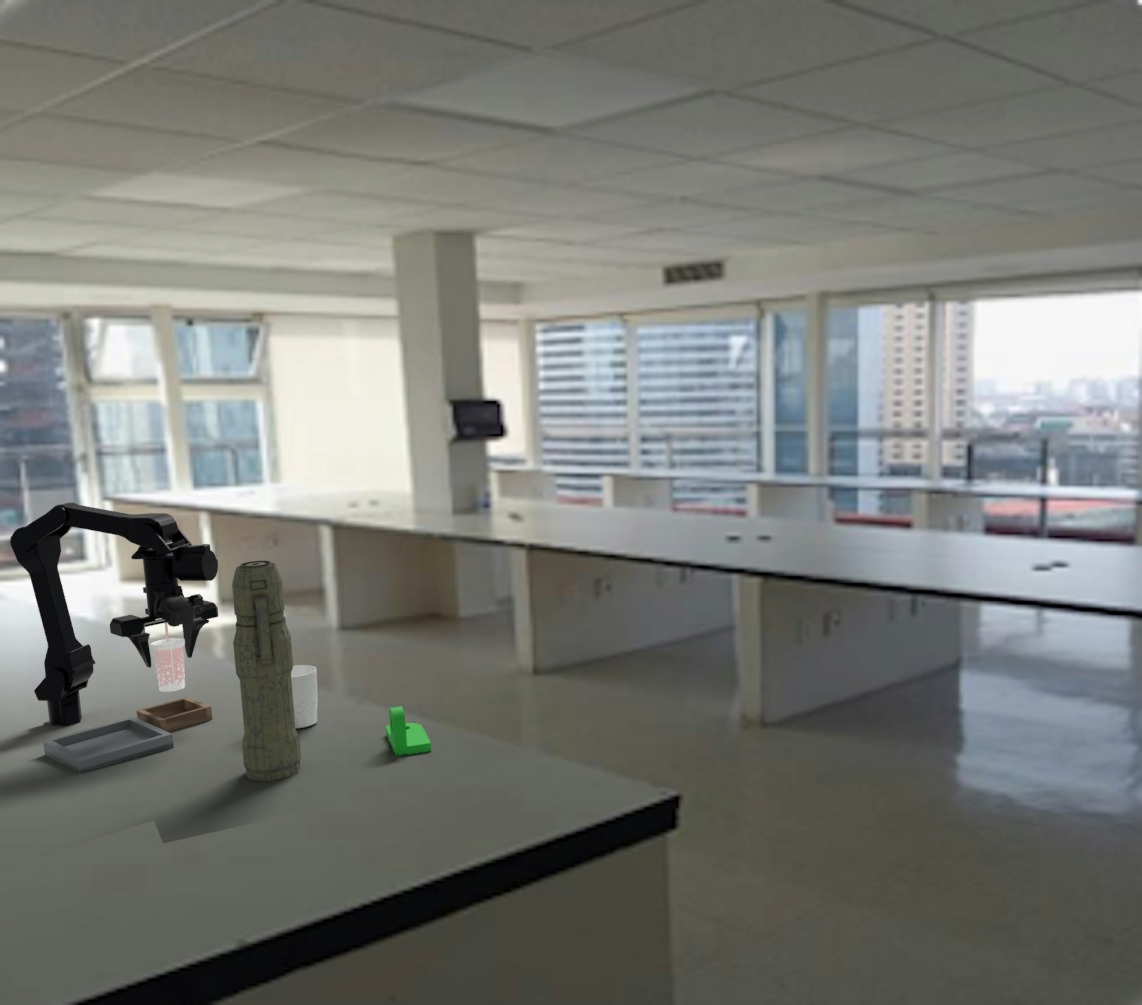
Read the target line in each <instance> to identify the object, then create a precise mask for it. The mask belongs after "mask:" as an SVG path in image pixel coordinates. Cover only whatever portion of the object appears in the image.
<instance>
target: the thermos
mask: <svg viewBox="0 0 1142 1005" xmlns="http://www.w3.org/2000/svg"><path fill="white" fill-rule="evenodd" d="M283 585H284V584H283V578H282V575H281V573H280V571H279V568H278V566H277V563H275V562H272V561H270V560H252V561H246V562H241V563H240V565H238V566H236V567H235V570H234V574H233V578H232V584H231V588H232V596H233V599H232V600H233V610H234V611H233V612H234V615H235V617H236V618H235V619H236V623H235V633H234V638H233V641H232V643H233V653H234V654H233V655H234V656H233V657H234V665H235V667H234V668H235V674H236V676H237V677H238V679H239V686H240V695H241V696H240V699H241V707H242V709H241V710H242V720H243V731H244V734H243V737H242V746H241V748H242V750H241V751H242V759H243V766H244V768H245V775H246V778H247V779H250V780H251V781H259V782H262V781H263V782H265V781H268V782H269V781H275V780H276V781H277V780H281V779H285V778H288V777H291V776H293V775H295V774H298V773H299V771H301V769H302V765H301V759H302V748H301V747H302V746H301V738H300V735H299V733H298V732H297V728H295V716H294V704H293V692H292V680H291V671H292V668H293V666H294V655H293V647H292V646H293V645H292V636H291V632H290V629H289V628H288V626H287V623H286V622H287V620H286V617H285V616H284V615H285V613H284V611H285V599H284V597H285V596H284V588H283V587H284V586H283Z"/></svg>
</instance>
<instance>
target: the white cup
mask: <svg viewBox="0 0 1142 1005" xmlns="http://www.w3.org/2000/svg"><path fill="white" fill-rule="evenodd" d="M291 680H292V692H293V704H294V716H295V728H296V729H301V728H302V729H303V728H307V727H310V726H313V725H315V724H317V722H318V706H319V704H318V699H319V698H318V697H319V696H318V672H317V667H316V666H313V665H311V664H310V665H309V664H298V665H297V664H296V665H293V668H292V671H291Z"/></svg>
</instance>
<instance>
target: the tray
mask: <svg viewBox="0 0 1142 1005" xmlns="http://www.w3.org/2000/svg"><path fill="white" fill-rule="evenodd" d="M42 742H43V743H42V744H43V751H44V756H46V757H48V758H50V759H51V760H53V761H55V762H57V763H60V764H62V765H63V766H65V767H67V768H70V769H71V770H73V771H76V772H77V773H79V774H84V773H86V772H90V771H93V770H99V769H101V768H105V767H108V765H109V766H112V765H116V764H119V762H120V763H123V761H124V762H127V761H130V759H131V760H134V759H133V758H135V759H137V757H138V758H141V757H140V756H142V757H145V755H146V756H149V755H153V754H155V753H160V752H163V751H166V750H171V749H174V746H175V744H174V735H173V734H172V733H171V732H167V731H164V730H162V729H160V728H158V727H156V726H153V725H151V724H149V723H147V722H144V721H142V720H140V719H138V718H137V717H135V716H129V717H126V718H123V719H119V720H115V721H111V722H108V723H104V724H101V725H97V726H93V727H90V728H85V729H82V730H78V731H75V732H72V733H68V734H63V735H61V736H57V737H53V738H50V739H46V740H42ZM126 760H127V761H126Z"/></svg>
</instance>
